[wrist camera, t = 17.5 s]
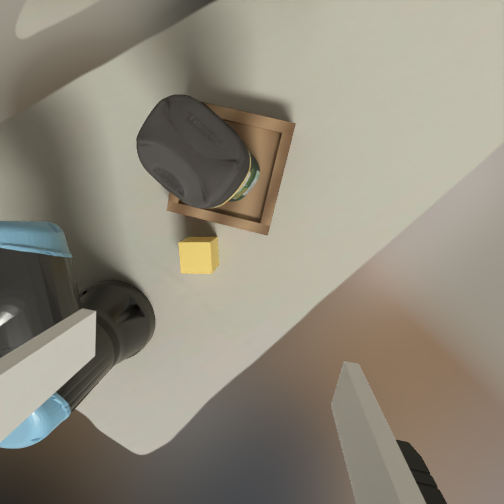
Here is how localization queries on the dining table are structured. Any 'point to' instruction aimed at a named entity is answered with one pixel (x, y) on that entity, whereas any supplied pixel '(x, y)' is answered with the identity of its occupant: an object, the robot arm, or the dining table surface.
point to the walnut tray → (271, 171)
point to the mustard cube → (199, 255)
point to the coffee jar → (195, 153)
